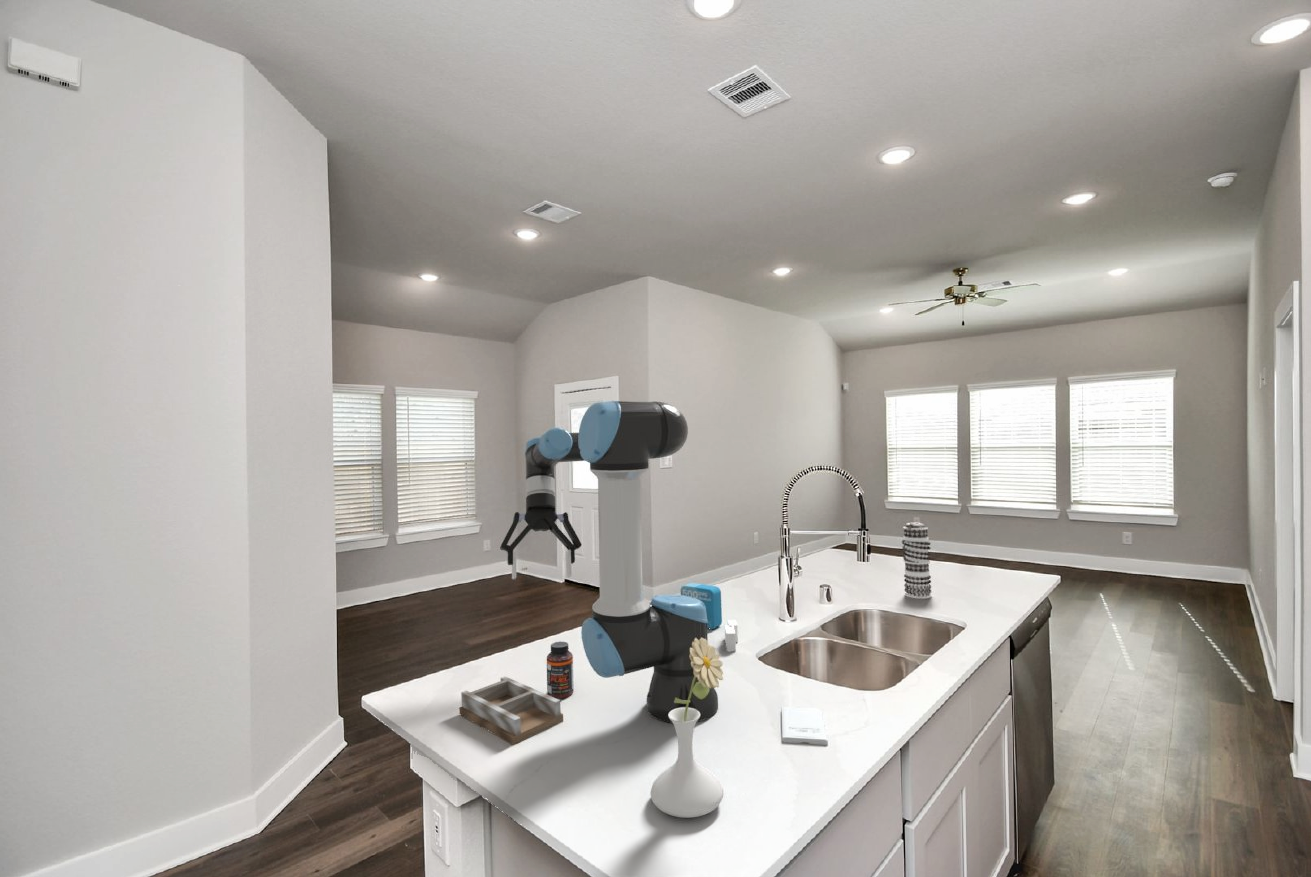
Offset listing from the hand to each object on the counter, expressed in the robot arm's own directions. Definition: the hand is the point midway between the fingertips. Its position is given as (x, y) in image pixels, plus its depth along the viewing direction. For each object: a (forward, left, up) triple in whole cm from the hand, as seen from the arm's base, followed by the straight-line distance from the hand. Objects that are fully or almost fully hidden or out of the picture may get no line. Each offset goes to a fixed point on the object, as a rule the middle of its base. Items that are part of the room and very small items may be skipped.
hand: (542, 577), depth 147 cm
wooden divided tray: (-14, +20, -24) cm, 34 cm away
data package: (-8, -52, -24) cm, 58 cm away
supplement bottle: (-13, +6, -24) cm, 28 cm away
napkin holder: (-25, -45, -24) cm, 57 cm away
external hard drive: (-63, -14, -24) cm, 69 cm away
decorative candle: (-48, -122, -24) cm, 134 cm away
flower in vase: (-61, +18, -24) cm, 68 cm away
